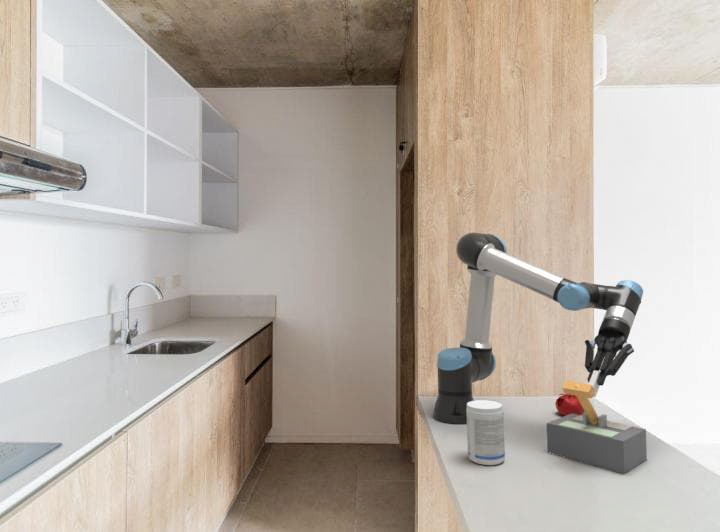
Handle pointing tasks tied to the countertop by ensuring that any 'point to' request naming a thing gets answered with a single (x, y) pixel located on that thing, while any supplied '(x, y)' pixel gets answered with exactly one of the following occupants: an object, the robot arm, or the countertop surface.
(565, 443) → the box
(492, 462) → the supplement tub
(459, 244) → the robot arm
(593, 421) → the lever
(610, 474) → the countertop surface
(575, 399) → the pomegranate
